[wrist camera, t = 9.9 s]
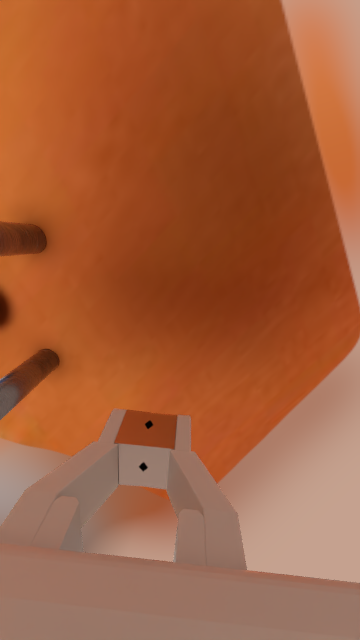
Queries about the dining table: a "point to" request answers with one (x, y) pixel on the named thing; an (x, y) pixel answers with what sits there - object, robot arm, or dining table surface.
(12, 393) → the far post
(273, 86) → the dining table surface
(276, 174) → the dining table surface
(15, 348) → the dining table surface
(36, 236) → the near post
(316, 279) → the dining table surface
